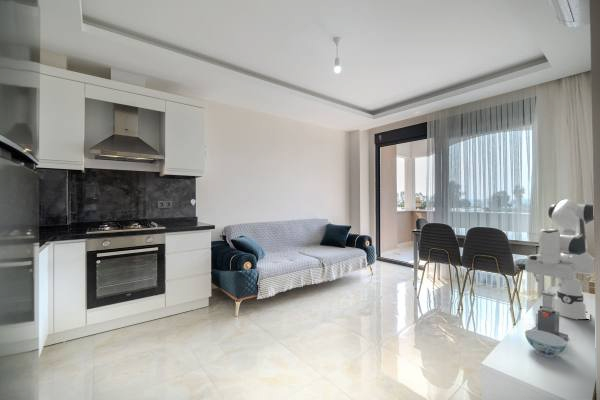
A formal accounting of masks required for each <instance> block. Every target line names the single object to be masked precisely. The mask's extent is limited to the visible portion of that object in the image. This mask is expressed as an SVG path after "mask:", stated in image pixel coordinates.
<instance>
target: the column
mask: <svg viewBox="0 0 600 400" xmlns="http://www.w3.org/2000/svg"><path fill="white" fill-rule="evenodd" d="M541 295H542V305H543V309H542V311H545V312H548V313H552V314H554V313H555V298H556V296H557V292H551V291H547V290H544V291H542V292H541Z"/></svg>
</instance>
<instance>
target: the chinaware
mask: <svg viewBox="0 0 600 400" xmlns="http://www.w3.org/2000/svg"><path fill="white" fill-rule="evenodd" d="M524 335H525V338H526V340H527V343H528V344H529V345H530V346H531V347H532V348H533V349H534V350H535V352H536V351H537V352H538V353H537V352H536V353H537V354H539V355H541V354H542V355H541V356H543V355H544V357H548V358H554V357H555V356H556V355H559V354H561V353H564V351H565V350H566V348H567V345H568V343H567V341H566V340H564V339H562V338H561V337H559V336H557V335H554V334H551V333H548V332H544V331H540V330H531V329H527V330H525V332H524Z"/></svg>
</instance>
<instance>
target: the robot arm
mask: <svg viewBox="0 0 600 400" xmlns="http://www.w3.org/2000/svg"><path fill="white" fill-rule="evenodd" d="M593 206H594V205H592V204H587V203H586V204H585V203H584V204H581V203H578V202H577V201H575V200H572V199H563V200H560V201H559V202H558V203H553V204H551V205H550V206H548V209H547V214H548V217H549V218H550V219H551V221H552V222H553V223H554V224H555V225H556V226H558V227H560V228H561V231H560V230H559V229H557V228H549V227H548V228H542V229H541V230H540V232H539V236H538V246H539V250H538V254H537V253H536V254H535V253H534V254H529V255H528V256H527V260H526V262H525V267H524V268H525V271H526V272H527V273H532V275H533V277H534V278H535V282H537V283H540V282H541V278H540V277H538V275H543V276H547V277H553V278H556V280H557V290H556V297H555V311H557V312H559V316H561V317H564V318H567V319H572V320H578V319H587V318H586V313H588V312H589V311H587V306H586V303H585V302H584V299H585V297H584V294H583V283H582V282H581V280H580V279H578V278H577V275H576V274H580V275H581V274H582V275H595V274H594V259H595V257H593V256H592V255H591V254H590V253H589V252H588V249H589V244H588V242H587V238H586V225H585V224H588V223H591V222H592V221H594V220H595V219H594V216H593Z"/></svg>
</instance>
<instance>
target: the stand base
mask: <svg viewBox="0 0 600 400" xmlns="http://www.w3.org/2000/svg"><path fill="white" fill-rule="evenodd" d="M542 309H543V308H541V309H540V308H539V309H538V310H537V312H538V325H537V324H536V325H535V326H534V327H532V328H531V329H530V330H540V331H544V332H548V333H551V334H554V335H557V336H559V337H561V338H562V339H564V340H565V341H566V340H568V338H569V334H567V333H563V332H561V331H560V315H559V312H557V311H555V313H554V314H552V313H548V312H545V311H542Z"/></svg>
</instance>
